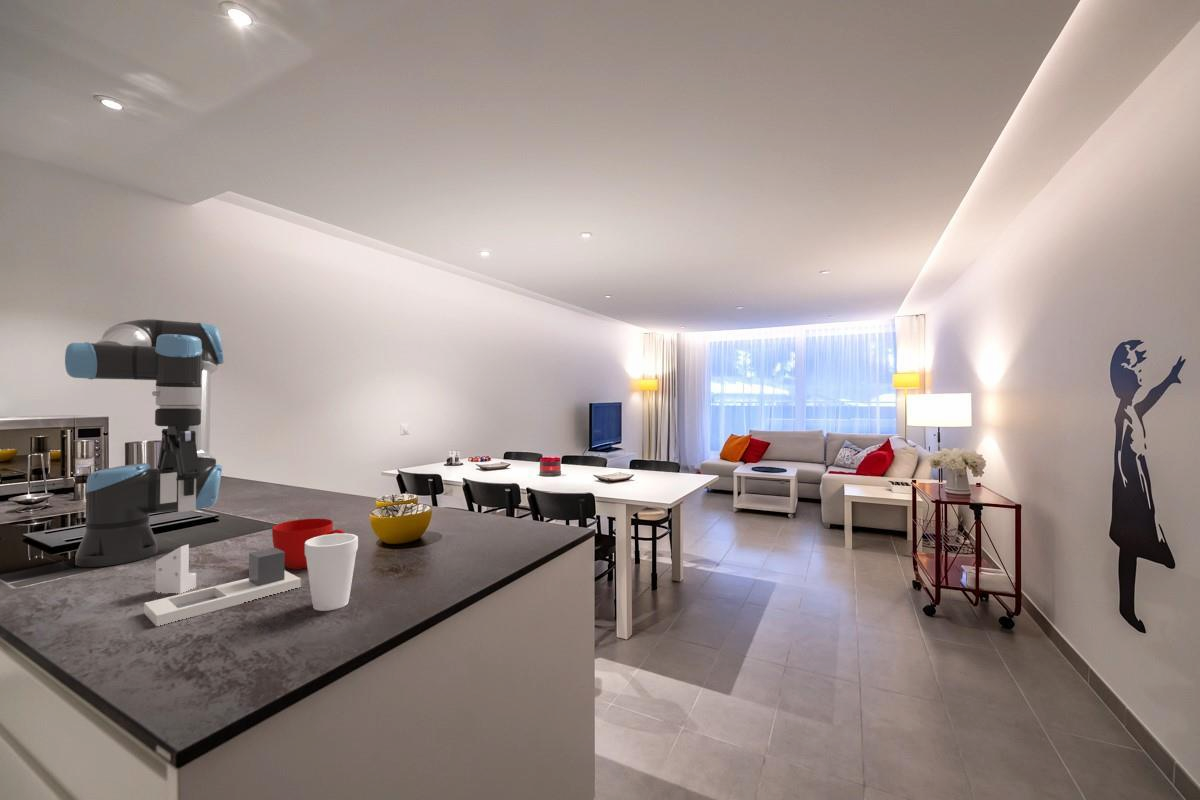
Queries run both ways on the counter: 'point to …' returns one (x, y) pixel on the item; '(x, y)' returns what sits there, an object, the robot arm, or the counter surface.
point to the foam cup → (331, 569)
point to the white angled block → (175, 572)
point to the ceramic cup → (299, 538)
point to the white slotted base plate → (228, 590)
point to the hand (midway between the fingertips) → (177, 506)
